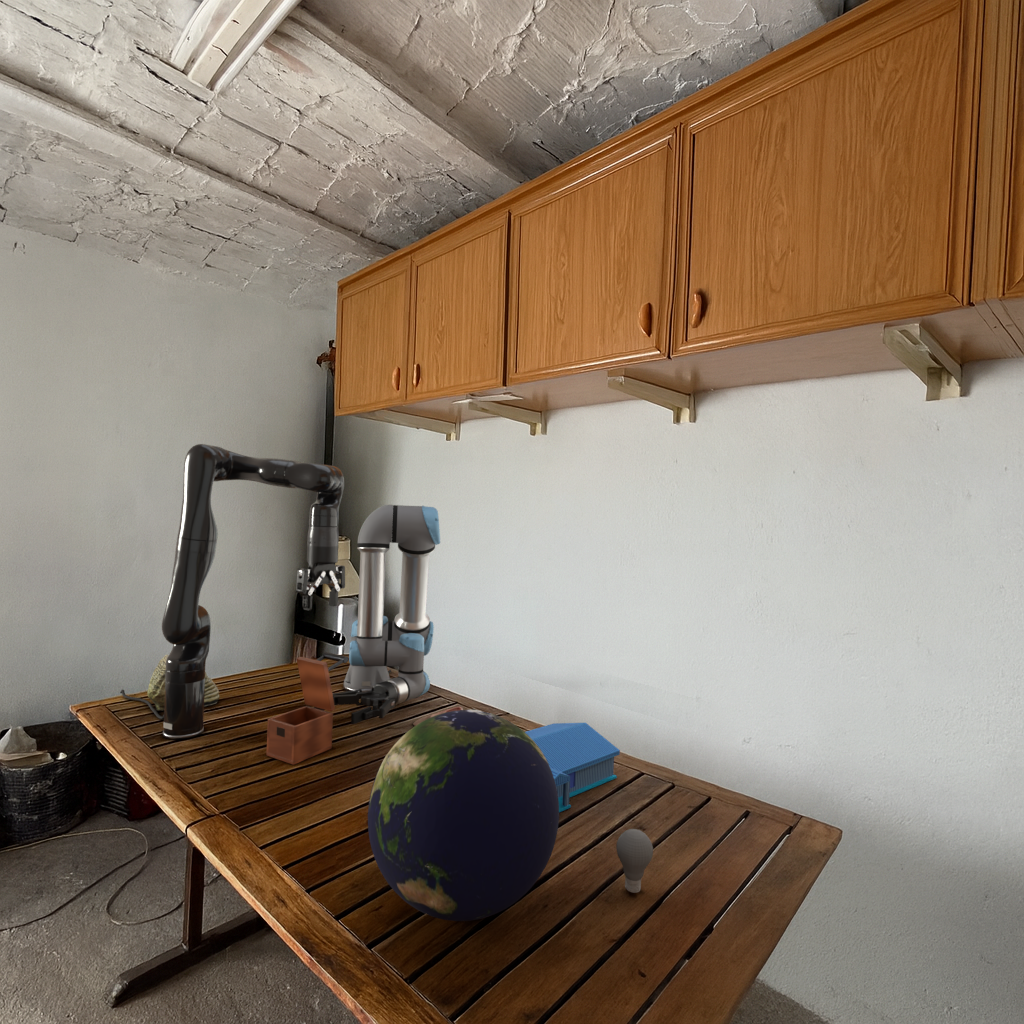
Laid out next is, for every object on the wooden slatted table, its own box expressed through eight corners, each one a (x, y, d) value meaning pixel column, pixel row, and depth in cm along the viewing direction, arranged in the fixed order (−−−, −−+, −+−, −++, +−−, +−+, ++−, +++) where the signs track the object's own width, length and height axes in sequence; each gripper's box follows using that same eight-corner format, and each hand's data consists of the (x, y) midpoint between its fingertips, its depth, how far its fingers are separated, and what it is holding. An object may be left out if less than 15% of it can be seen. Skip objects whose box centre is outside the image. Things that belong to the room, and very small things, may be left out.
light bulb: (610, 879, 108) (613, 822, 108) (644, 879, 109) (647, 822, 109) (619, 902, 102) (622, 840, 102) (655, 901, 103) (658, 840, 103)
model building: (501, 837, 120) (504, 785, 120) (427, 790, 139) (429, 744, 138) (628, 782, 147) (630, 739, 147) (552, 748, 165) (553, 710, 165)
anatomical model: (409, 713, 175) (423, 701, 186) (408, 727, 175) (423, 714, 186) (455, 719, 172) (467, 706, 184) (455, 733, 172) (466, 719, 184)
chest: (293, 764, 149) (294, 727, 149) (266, 755, 153) (267, 718, 153) (331, 748, 159) (333, 713, 159) (305, 740, 164) (306, 705, 164)
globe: (322, 932, 92) (330, 728, 92) (425, 835, 120) (432, 678, 119) (512, 1001, 81) (522, 769, 81) (577, 877, 109) (585, 703, 108)
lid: (323, 664, 155) (349, 648, 163) (296, 658, 160) (322, 643, 168) (331, 711, 159) (356, 693, 166) (304, 704, 163) (330, 687, 171)
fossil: (144, 707, 182) (145, 655, 182) (212, 696, 194) (213, 647, 194) (151, 716, 175) (153, 662, 175) (221, 703, 188) (223, 653, 188)
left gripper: (312, 546, 152) (309, 613, 152) (354, 544, 164) (351, 606, 164) (290, 544, 155) (287, 609, 156) (332, 541, 168) (330, 602, 168)
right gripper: (421, 715, 178) (368, 738, 159) (356, 698, 190) (300, 717, 172) (422, 689, 177) (369, 708, 159) (357, 673, 190) (301, 689, 172)
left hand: (320, 607), depth 160 cm, fingers open, 8 cm apart
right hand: (333, 713), depth 166 cm, fingers open, 13 cm apart
